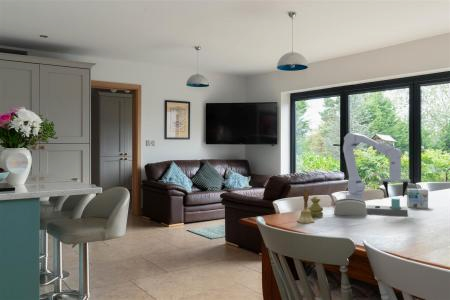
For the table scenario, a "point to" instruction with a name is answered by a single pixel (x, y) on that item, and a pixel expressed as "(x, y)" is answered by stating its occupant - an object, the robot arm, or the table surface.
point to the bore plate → (386, 210)
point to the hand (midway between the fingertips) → (395, 196)
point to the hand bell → (305, 210)
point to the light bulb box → (417, 198)
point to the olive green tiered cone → (315, 208)
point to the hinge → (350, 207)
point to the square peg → (395, 203)
